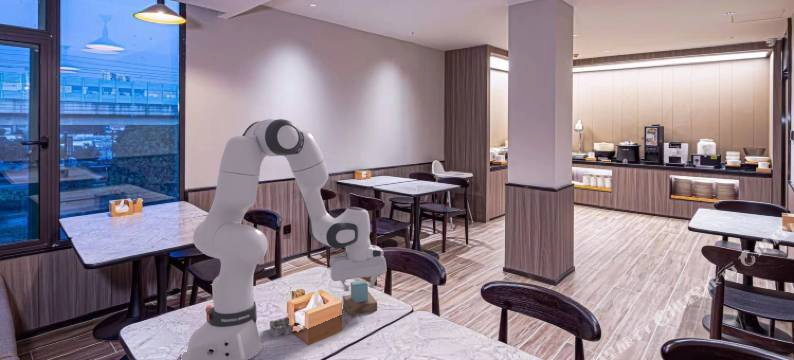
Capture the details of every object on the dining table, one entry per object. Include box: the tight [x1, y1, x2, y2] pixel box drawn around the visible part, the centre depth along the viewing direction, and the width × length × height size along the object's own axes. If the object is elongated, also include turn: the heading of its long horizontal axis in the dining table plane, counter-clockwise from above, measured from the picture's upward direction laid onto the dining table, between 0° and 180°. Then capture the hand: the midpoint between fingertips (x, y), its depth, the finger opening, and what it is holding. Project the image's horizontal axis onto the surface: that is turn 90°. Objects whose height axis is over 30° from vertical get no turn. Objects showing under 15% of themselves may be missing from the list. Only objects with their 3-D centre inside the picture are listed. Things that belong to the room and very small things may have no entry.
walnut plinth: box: [342, 291, 378, 316], centre depth 159 cm, size 10×10×3 cm
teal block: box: [350, 279, 369, 303], centre depth 158 cm, size 5×5×6 cm
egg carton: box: [269, 316, 296, 337], centre depth 142 cm, size 11×8×4 cm
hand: (359, 288), depth 158 cm, fingers open, 8 cm apart
